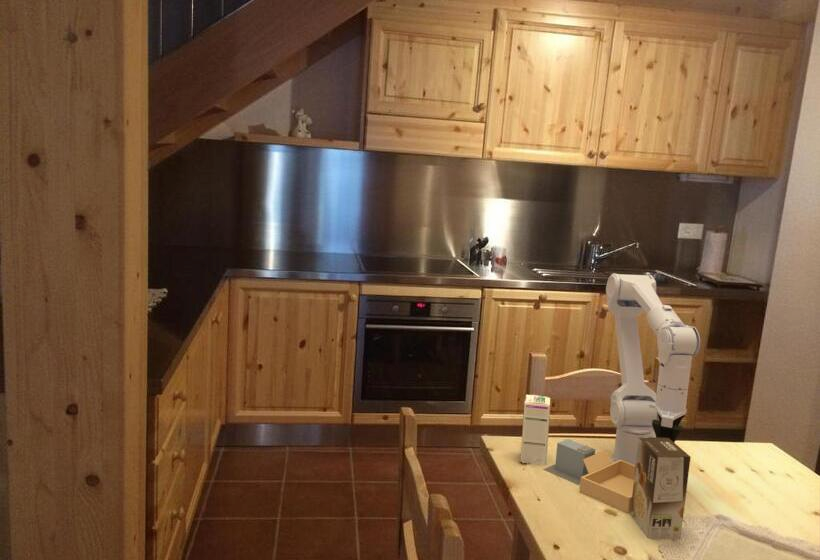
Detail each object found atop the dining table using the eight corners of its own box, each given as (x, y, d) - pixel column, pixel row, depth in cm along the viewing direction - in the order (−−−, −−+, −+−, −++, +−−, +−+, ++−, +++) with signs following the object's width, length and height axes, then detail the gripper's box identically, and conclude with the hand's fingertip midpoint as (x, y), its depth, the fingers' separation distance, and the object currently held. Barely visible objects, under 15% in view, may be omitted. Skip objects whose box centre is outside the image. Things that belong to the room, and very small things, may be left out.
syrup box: (546, 466, 151) (551, 404, 149) (519, 463, 153) (524, 401, 150) (546, 456, 157) (551, 396, 155) (520, 453, 158) (525, 393, 156)
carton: (610, 471, 151) (613, 445, 150) (673, 497, 140) (677, 469, 139) (571, 490, 141) (574, 462, 140) (636, 518, 130) (639, 489, 129)
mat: (566, 461, 155) (567, 459, 155) (601, 475, 149) (601, 473, 149) (542, 471, 149) (542, 469, 149) (577, 486, 143) (577, 484, 143)
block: (565, 464, 152) (568, 437, 151) (592, 475, 147) (595, 448, 146) (554, 468, 150) (557, 441, 149) (582, 480, 145) (584, 452, 144)
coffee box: (682, 541, 123) (693, 457, 120) (648, 540, 122) (658, 456, 120) (659, 515, 132) (669, 437, 130) (627, 515, 131) (636, 436, 129)
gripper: (655, 373, 144) (648, 434, 146) (648, 391, 131) (640, 458, 133) (690, 379, 141) (683, 441, 144) (687, 398, 128) (679, 466, 131)
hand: (665, 450), depth 138 cm, fingers open, 7 cm apart
